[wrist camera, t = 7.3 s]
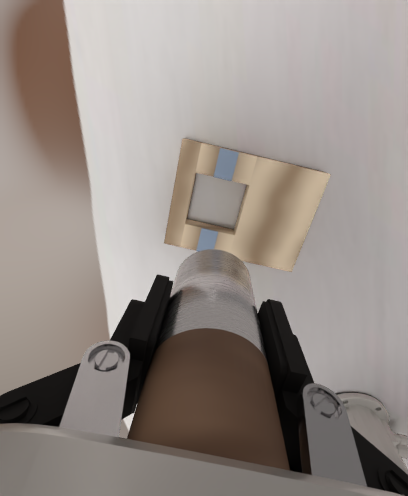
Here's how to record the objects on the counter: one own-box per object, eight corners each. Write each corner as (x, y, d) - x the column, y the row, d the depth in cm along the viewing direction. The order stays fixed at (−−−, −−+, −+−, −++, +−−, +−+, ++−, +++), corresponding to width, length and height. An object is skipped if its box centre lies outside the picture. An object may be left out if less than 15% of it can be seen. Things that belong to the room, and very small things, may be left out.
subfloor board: (324, 171, 30) (331, 174, 28) (287, 264, 35) (291, 272, 33) (184, 138, 30) (182, 138, 28) (167, 237, 34) (163, 243, 32)
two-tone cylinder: (260, 258, 14) (420, 765, 3) (239, 320, 15) (287, 798, 4) (183, 241, 14) (30, 703, 3) (170, 305, 15) (40, 761, 4)
